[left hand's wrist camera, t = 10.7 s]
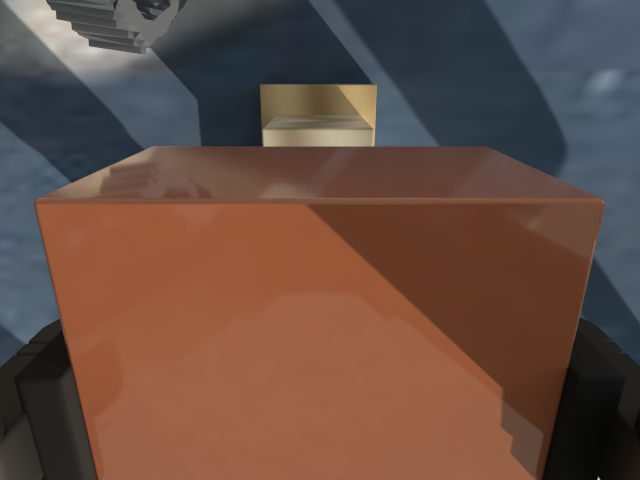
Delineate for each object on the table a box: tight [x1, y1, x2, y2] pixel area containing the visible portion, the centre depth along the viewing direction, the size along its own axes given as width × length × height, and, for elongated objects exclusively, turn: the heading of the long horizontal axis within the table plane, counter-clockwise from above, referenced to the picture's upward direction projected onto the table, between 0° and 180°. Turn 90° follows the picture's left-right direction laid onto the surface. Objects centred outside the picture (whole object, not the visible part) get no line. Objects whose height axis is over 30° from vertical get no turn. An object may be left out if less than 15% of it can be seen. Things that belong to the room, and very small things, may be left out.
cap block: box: [34, 146, 605, 480], centre depth 10 cm, size 8×8×5 cm
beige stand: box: [260, 84, 377, 146], centre depth 32 cm, size 8×30×14 cm, turn 0°
